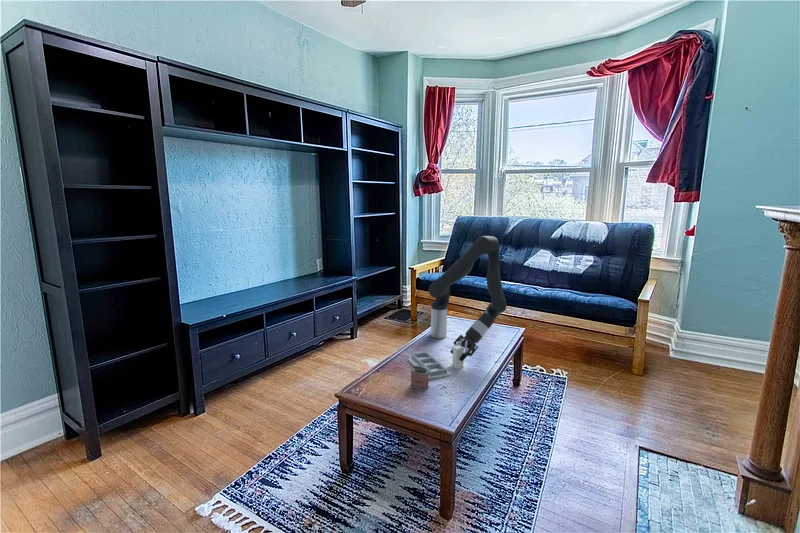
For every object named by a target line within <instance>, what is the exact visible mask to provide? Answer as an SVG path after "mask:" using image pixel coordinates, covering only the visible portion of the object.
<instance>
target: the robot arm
mask: <svg viewBox="0 0 800 533" xmlns="http://www.w3.org/2000/svg"><path fill="white" fill-rule="evenodd" d="M483 255H487V258H488V269H487V273H486V284H487V285H486V286H487V291H488V294H489V295H490V298H491V302H490V303H489V304H488V305H487V307H486V308H485V310H484V311H483V313H481V315H480V316H479V317H478V318H477V319H476V320H475V321H474V322H473V323H472V324H471V326H470V327H469V328H468V329H467V331H466V332H465V336H463V335H462V334H460V335H459V336H458V337H457V338H456V339H455V340H454V341H453V345H454V346H459V345H460V346H462V347H463V348H464V353H463V354H462V355H461V356H460V358H459V360H460V361H463V362H464V360H465V359H466V358H467V357H472V356H473V355H474V353H475V352H476V351H477V349H479V346H478V345H477V344H478V343H479V342H480V341H481V340H482V339H483V337H484V336H485V335H486V334H487V333H488V331H489V330H490V328H491V327H492V326H493V324H494V323H495V321H496V319H497V318H498V316H499V315H500V314H501V313H502V314H503V313H504V312H505V311H506V310H507V301H506V300H507V299H506V297H505V294H504V291H503V285H502V280H501V278H502V277H501V272H500V271H501V270H500V242H499V240H498V238H497V237H495V236H491V235H481V236H479V237H477V238H476V239H475V240H474V242H473V243H472V244H471V246H470V247H469V248H468V249H467V251H465V252H464V253H463V254H462V255H461V256H460V257H459V258H458V259H457V260H456V261H454V262H453V264H452V265H451V266H450V267H448V268H447V270H445V272H444V273H443V274H442V275H441V276H439V277H438V278H437V279H436V280H433V282H431V284H430V285H429V287H428V293H429V296H431V297H432V298H434V300H433V301H432V303H431V307H430V308H431V311H430V312H431V316H430V317H431V318H430V336H431V337H432V338H434V339H445V338H446V337H447V328H448V324H447V323H448V305H449V303H450V286H452V285H453V284H455V283H457V282H460V280H462V279H464V278H465V277H466V276H467V275H468V274H469V273H470V272H471V271H472V269H473V267H474V264H475V262H476V260H478V259H479V258H480V257H481V256H483ZM449 352H450V354H451V355H453V347H452V348H451V350H450V351H449Z"/></svg>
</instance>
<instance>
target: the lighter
mask: <svg viewBox="0 0 800 533" xmlns="http://www.w3.org/2000/svg"><path fill="white" fill-rule="evenodd" d="M411 367H412V369H410V387H411V388H412V387H413V388H412V389H416V388H417V390H422V391H423V390H426V391H427V390H429V388H430V386H429V379H428V375H429V372H428V371H426V367H423V366H422V365H420V366H418V365H412V366H411Z"/></svg>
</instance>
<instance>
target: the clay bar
mask: <svg viewBox="0 0 800 533" xmlns="http://www.w3.org/2000/svg"><path fill="white" fill-rule="evenodd" d="M452 348H453V354H452V364H451V365H452V367H453V368H455V369H461V368H464V360H463V361H460V360H459V358H460V356H461V355H462V354H463V353H464V351H465V348H464V347H462V346H460V345H458V346H452Z"/></svg>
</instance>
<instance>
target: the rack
mask: <svg viewBox="0 0 800 533" xmlns="http://www.w3.org/2000/svg"><path fill="white" fill-rule="evenodd" d="M408 360H409V361H408V362H409V363H410V364H411V365H412V366H413V365H418V366H420V365H422V366H423V367H426V371H428V372H429V375H428V380H433V379H437V378H438V377H439V378H443V376H444V377H448V376H451V372H450V371H449V370H448V369H447V368H446V367H445V366H444V365H443V364H442V363H441V362H439V361H438V360H437V359H436V358H435V357H433V356H432V354H430V353H429V352H428V351H422V352H415V353H412V354H411V357H409V358H408Z"/></svg>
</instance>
